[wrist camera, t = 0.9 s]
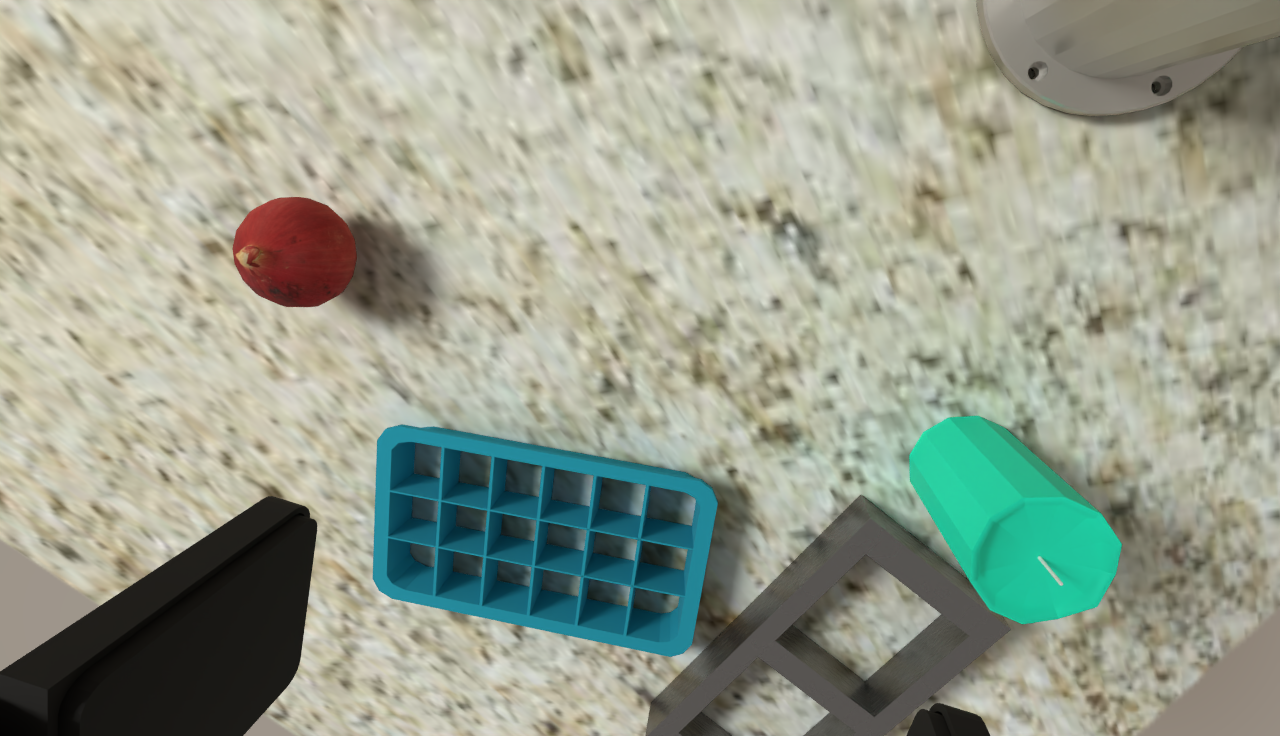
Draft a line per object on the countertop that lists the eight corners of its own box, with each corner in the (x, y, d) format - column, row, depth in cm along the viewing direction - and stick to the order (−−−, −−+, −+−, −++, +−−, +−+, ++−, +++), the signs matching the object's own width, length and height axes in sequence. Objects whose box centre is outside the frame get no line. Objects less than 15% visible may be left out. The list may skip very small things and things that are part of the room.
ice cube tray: (692, 629, 44) (688, 660, 41) (395, 568, 46) (372, 594, 43) (722, 464, 41) (721, 485, 38) (402, 406, 43) (377, 422, 40)
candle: (896, 502, 39) (962, 632, 28) (922, 405, 38) (1005, 501, 26) (1002, 523, 39) (1115, 663, 27) (1034, 425, 37) (1168, 531, 26)
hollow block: (860, 494, 39) (870, 518, 37) (991, 597, 40) (1010, 629, 37) (650, 702, 45) (645, 737, 42) (767, 791, 46) (769, 831, 43)
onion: (389, 295, 40) (307, 320, 33) (299, 297, 41) (200, 321, 34) (375, 194, 39) (287, 196, 31) (283, 198, 40) (175, 200, 32)
